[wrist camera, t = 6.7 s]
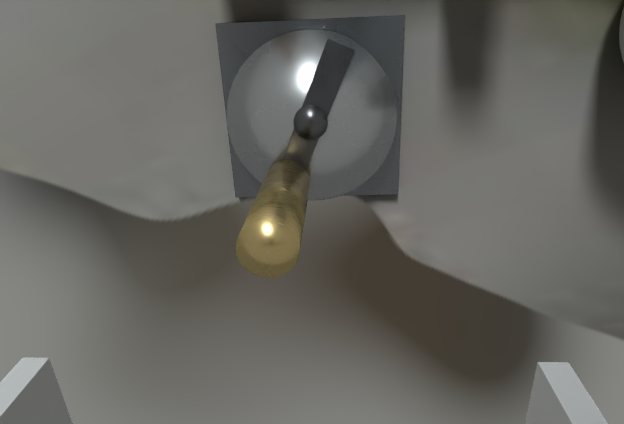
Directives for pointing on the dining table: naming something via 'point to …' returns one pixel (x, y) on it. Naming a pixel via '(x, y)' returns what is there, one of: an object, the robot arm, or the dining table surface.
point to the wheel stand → (364, 30)
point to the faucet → (305, 135)
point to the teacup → (622, 35)
